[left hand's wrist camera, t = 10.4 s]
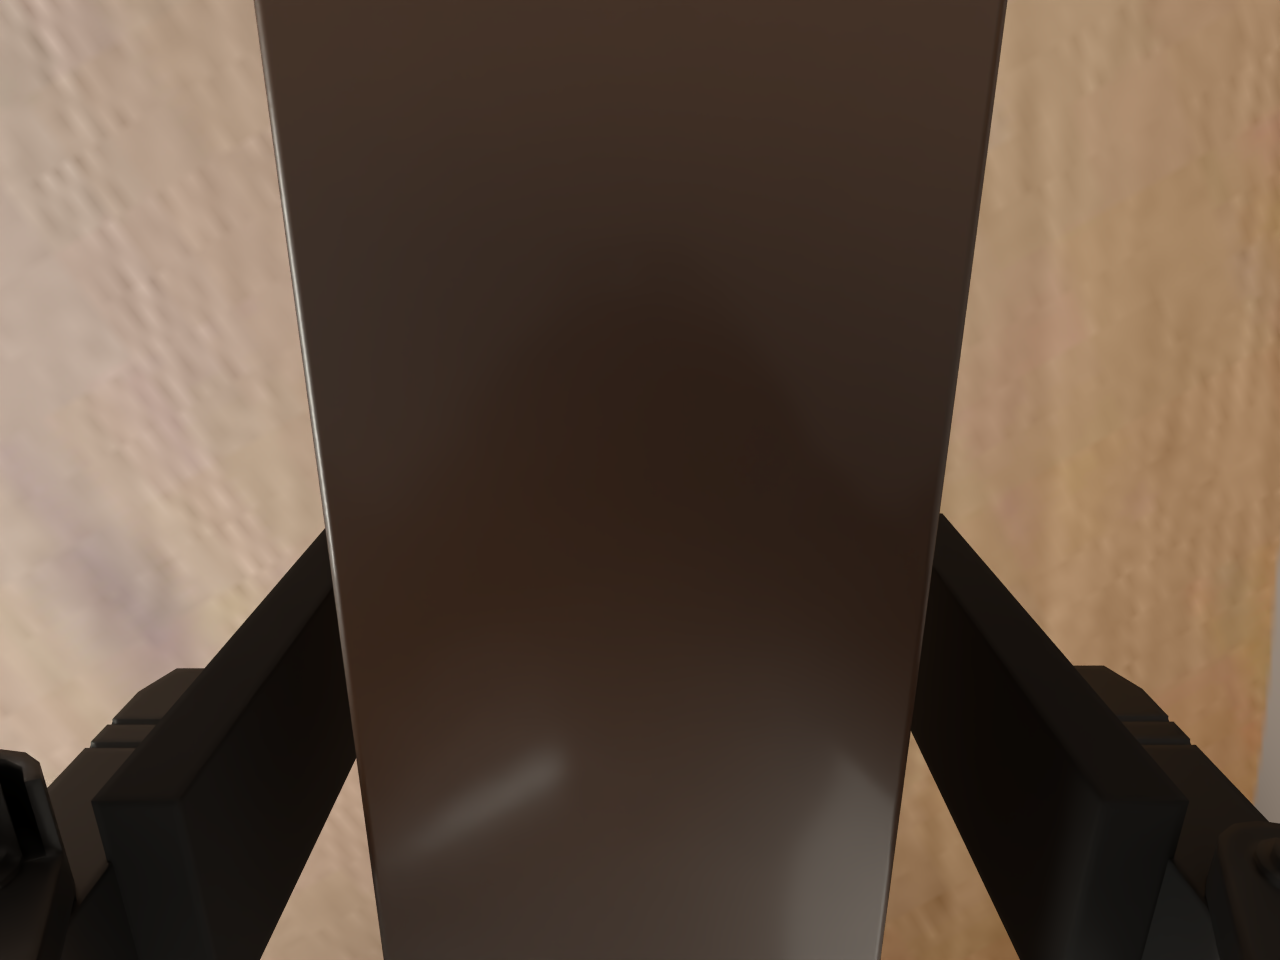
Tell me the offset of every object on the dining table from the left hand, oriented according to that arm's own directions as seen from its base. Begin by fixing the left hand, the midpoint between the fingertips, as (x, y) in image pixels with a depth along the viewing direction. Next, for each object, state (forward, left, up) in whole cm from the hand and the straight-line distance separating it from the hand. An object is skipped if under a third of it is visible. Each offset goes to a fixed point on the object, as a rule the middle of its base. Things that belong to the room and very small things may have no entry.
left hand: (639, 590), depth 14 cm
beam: (+9, 0, -1) cm, 9 cm away
